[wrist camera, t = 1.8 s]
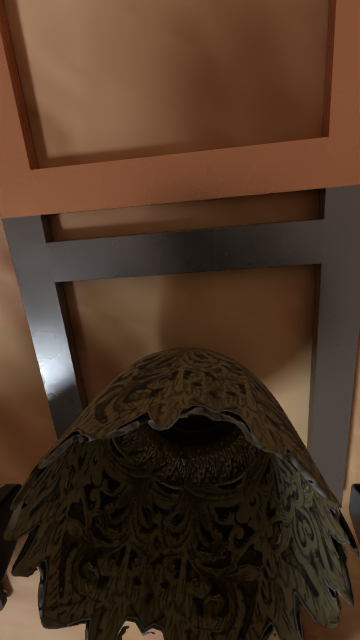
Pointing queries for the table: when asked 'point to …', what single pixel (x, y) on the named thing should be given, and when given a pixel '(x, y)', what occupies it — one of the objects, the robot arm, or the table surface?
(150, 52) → the table surface
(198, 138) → the table surface
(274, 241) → the rectangular frame
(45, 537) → the dark ridged bell shape
